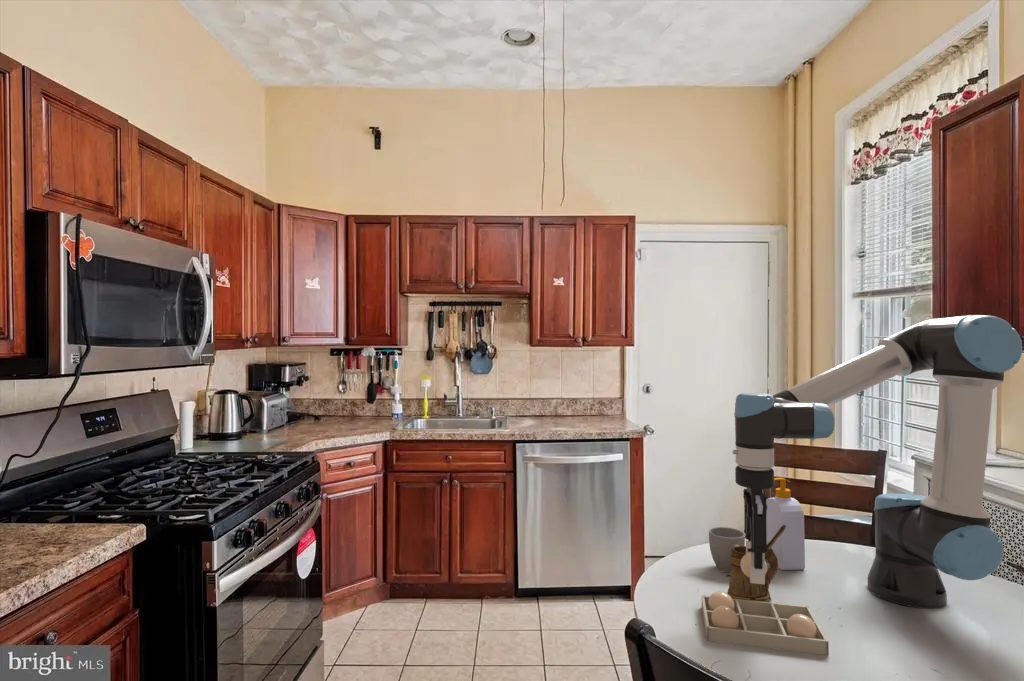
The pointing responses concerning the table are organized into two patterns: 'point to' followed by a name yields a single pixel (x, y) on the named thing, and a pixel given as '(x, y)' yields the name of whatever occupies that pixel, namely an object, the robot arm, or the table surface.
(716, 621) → the seated egg
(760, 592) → the wooden mug
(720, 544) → the mug
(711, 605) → the seated egg
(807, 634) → the seated egg
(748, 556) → the egg
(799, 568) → the soap bottle
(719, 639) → the carton
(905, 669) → the table surface
